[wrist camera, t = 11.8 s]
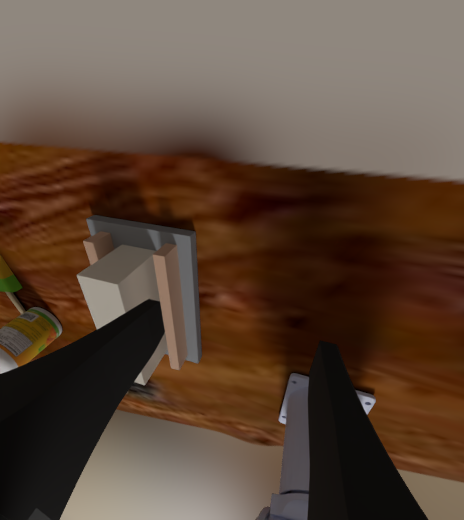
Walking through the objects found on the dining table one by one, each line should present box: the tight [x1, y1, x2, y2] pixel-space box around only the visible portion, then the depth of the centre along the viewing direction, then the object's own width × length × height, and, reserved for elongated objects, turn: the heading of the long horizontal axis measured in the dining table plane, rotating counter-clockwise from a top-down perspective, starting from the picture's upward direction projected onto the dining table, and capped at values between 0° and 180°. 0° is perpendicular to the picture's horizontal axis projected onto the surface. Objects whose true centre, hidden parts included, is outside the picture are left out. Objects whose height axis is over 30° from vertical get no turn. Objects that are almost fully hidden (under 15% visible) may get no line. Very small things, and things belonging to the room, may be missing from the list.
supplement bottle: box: [0, 307, 62, 374], centre depth 31 cm, size 5×5×10 cm
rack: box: [83, 215, 202, 370], centre depth 24 cm, size 16×10×3 cm, turn 178°
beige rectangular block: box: [77, 245, 168, 385], centre depth 22 cm, size 12×4×5 cm, turn 178°
